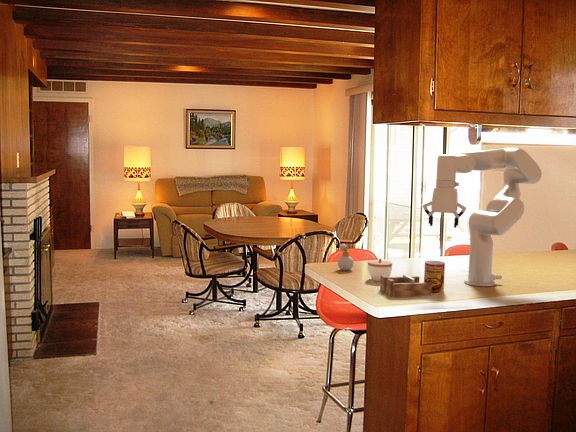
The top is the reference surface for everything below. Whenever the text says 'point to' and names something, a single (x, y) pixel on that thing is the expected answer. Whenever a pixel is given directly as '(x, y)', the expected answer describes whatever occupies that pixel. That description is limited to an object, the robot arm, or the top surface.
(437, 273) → the canned food
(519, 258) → the top surface
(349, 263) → the perfume bottle
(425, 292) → the brown wooden frame
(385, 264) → the lidded jar
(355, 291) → the top surface
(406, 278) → the pusher
